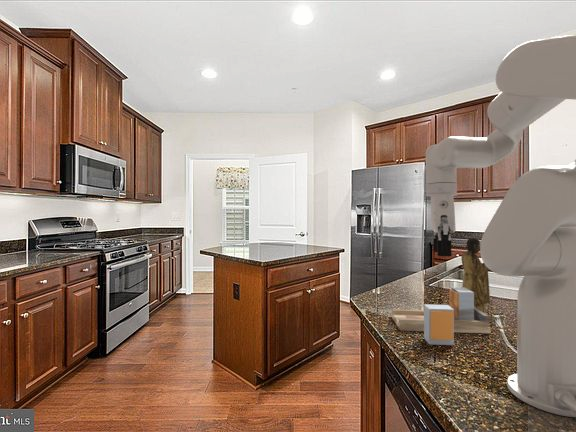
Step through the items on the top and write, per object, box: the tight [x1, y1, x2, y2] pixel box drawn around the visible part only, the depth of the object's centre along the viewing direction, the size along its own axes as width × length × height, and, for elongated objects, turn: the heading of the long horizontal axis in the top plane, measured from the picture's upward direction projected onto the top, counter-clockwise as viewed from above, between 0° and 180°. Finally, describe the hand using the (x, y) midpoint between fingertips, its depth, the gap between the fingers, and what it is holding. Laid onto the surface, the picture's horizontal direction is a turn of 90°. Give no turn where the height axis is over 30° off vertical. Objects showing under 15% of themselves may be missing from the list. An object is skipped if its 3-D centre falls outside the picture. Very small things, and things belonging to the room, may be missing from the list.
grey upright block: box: [423, 303, 455, 346], centre depth 83 cm, size 6×5×9 cm
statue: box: [460, 236, 491, 315], centre depth 106 cm, size 9×9×25 cm
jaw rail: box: [391, 286, 492, 334], centre depth 95 cm, size 12×24×10 cm, turn 83°
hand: (441, 254), depth 87 cm, fingers open, 9 cm apart
